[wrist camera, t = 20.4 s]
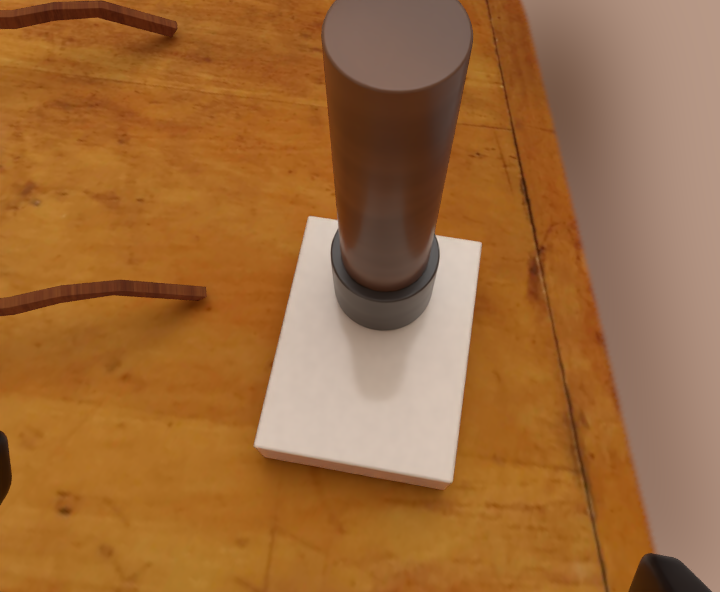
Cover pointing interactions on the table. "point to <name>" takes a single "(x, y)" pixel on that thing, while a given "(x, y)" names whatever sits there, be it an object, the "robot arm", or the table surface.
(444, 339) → the white base block
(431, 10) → the brown tall cylinder
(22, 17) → the glasses
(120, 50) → the table surface
